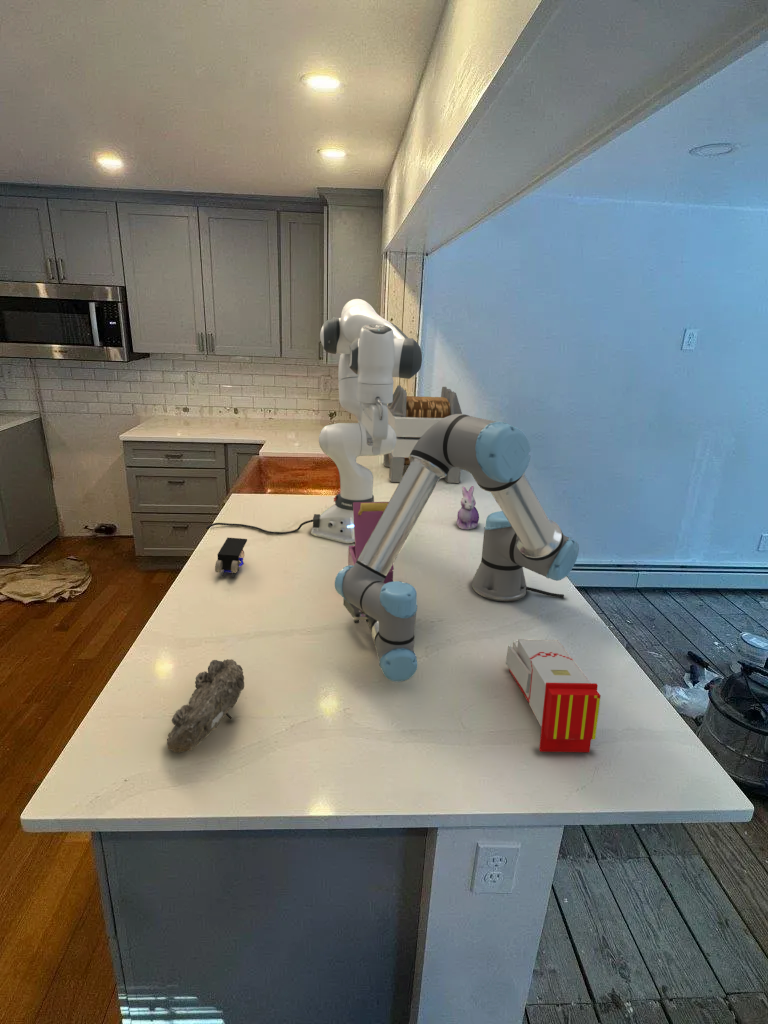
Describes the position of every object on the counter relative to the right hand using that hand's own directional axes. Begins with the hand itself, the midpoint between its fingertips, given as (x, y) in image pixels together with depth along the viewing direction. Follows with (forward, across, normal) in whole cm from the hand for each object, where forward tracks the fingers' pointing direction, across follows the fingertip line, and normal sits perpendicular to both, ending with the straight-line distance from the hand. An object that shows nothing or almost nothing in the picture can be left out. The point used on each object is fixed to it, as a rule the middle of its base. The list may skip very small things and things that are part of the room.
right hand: (372, 584), depth 150 cm
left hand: (+6, 0, +35) cm, 35 cm away
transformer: (+125, +43, -6) cm, 133 cm away
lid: (+2, 0, +13) cm, 13 cm away
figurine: (+55, +45, -6) cm, 71 cm away
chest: (+5, 0, -6) cm, 8 cm away
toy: (-44, +28, -6) cm, 53 cm away
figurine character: (+25, -38, -6) cm, 45 cm away
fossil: (-40, -37, -6) cm, 55 cm away
